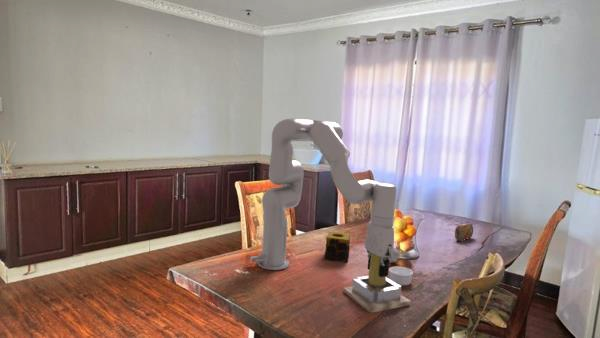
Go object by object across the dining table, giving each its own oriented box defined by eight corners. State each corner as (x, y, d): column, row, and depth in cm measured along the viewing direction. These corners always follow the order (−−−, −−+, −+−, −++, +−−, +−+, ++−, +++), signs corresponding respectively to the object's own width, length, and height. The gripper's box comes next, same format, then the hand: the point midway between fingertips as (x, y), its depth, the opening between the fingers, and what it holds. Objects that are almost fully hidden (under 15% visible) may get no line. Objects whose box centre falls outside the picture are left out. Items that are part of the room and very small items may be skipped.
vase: (375, 287, 129) (378, 245, 127) (363, 280, 134) (367, 240, 132) (389, 285, 132) (393, 244, 130) (377, 278, 137) (381, 238, 135)
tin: (458, 242, 205) (460, 226, 204) (452, 240, 207) (454, 225, 206) (472, 238, 214) (474, 223, 213) (467, 236, 216) (469, 221, 215)
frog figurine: (386, 258, 174) (388, 242, 173) (401, 262, 170) (403, 246, 169) (380, 261, 170) (381, 245, 169) (395, 265, 165) (396, 250, 164)
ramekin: (408, 288, 143) (409, 277, 143) (384, 282, 148) (385, 271, 147) (414, 280, 151) (415, 270, 150) (392, 274, 155) (393, 264, 155)
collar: (371, 305, 125) (372, 293, 125) (350, 289, 136) (351, 278, 136) (402, 299, 131) (403, 287, 130) (379, 284, 142) (380, 273, 141)
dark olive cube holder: (347, 262, 166) (349, 240, 165) (324, 259, 168) (325, 237, 167) (349, 255, 176) (351, 233, 175) (327, 252, 178) (328, 230, 177)
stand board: (370, 312, 123) (370, 308, 123) (343, 291, 137) (343, 287, 137) (409, 305, 130) (410, 300, 130) (380, 285, 144) (380, 281, 144)
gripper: (358, 214, 136) (354, 264, 139) (389, 228, 121) (384, 284, 123) (375, 213, 140) (371, 262, 142) (408, 226, 124) (403, 281, 126)
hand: (377, 272), depth 133 cm, fingers closed on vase, 5 cm apart
